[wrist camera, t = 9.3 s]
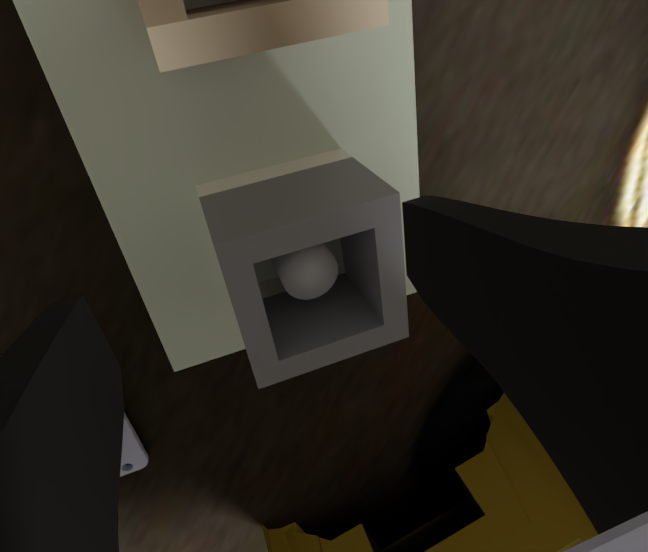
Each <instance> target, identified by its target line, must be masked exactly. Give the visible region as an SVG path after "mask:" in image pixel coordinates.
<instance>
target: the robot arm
mask: <svg viewBox="0 0 648 552" xmlns="http://www.w3.org/2000/svg"><path fill="white" fill-rule="evenodd" d="M402 210H403V226H404V242H405V258H406V273H407V277H408V278H409V280H410V281H411V283H412V284H413V286H414V288H415V289H416V291H417V292H418V294H419V295H420V296H421V298H422V299H423V301H424V302H425V304H426V305H427V306H428V307H429V308H430V310H431V311H432V312H433V313H434V314H435V315H436V316H437V317H438V318H439V320H440V321H441V322H442V323H443V324H444V325H445V326H446V327H447V328H448V329H449V330H450V331H451V333H452V334H453V335H454V336H455V337H456V338H457V339H458V340H459V341H460V342H461V343H462V344H463V345H464V346H465V348H466V349H467V350H468V351H469V352H470V353H471V354H472V355H473V356H474V357H475V358H476V359H477V360H478V361H479V363H480V364H481V365H482V366H483V367H484V368H485V369H486V370H487V372H488V373H489V374H490V375H491V376H492V377H493V379H494V380H495V381H496V382H497V384H498V385H499V386H500V388H501V389H502V390H503V392H504V393H505V394H506V396H507V397H508V398H509V400H510V401H511V402H512V404H513V405H514V406H515V408H516V409H517V411H518V412H519V413H520V415H521V416H522V417H523V419H524V420H525V422H526V423H527V425H528V426H529V427H530V429H531V430H532V432H533V433H534V435H535V436H536V438H537V439H538V440H539V442H540V443H541V445H542V446H543V448H544V449H545V450H546V452H547V454H548V455H549V457H550V458H551V460H552V461H553V463H554V464H555V466H556V467H557V469H558V470H559V472H560V474H561V475H562V477H563V478H564V480H565V481H566V483H567V484H568V486H569V487H570V489H571V490H572V492H573V494H574V495H575V497H576V498H577V500H578V502H579V503H580V505H581V507H582V508H583V510H584V512H585V513H586V515H587V517H588V518H589V520H590V521H591V523H592V525H593V526H594V528H595V530H596V531H597V533H598V535H597V536H595V537H593V538H591V539H589V540H586V541H584V542H582V543H580V544H578V545H576V546H574V547H572V548H570V549H568V550H566V551H563V552H648V228H644V227H620V226H605V225H595V224H585V223H575V222H567V221H560V220H553V219H547V218H541V217H535V216H529V215H524V214H519V213H514V212H509V211H504V210H499V209H494V208H490V207H485V206H481V205H476V204H472V203H467V202H463V201H458V200H453V199H448V198H443V197H436V196H422V197H419V198H415V199H412V200H408V201H405V202H402ZM128 463H129V464H128ZM125 464H128V465H125ZM147 464H148V454H147V452H146V450H145V449H144V447H143V445H142V443H141V441H140V440H139V438H138V436H137V434H136V432H135V430H134V429H133V427H132V425H131V423H130V421H129V419H128V418H127V416H126V414H125V412H124V395H123V384H122V374H121V367H120V365H119V363H118V361H117V359H116V357H115V355H114V353H113V351H112V349H111V347H110V345H109V343H108V342H107V340H106V338H105V336H104V334H103V332H102V330H101V328H100V326H99V324H98V322H97V320H96V318H95V316H94V314H93V312H92V310H91V309H90V307H89V305H88V303H87V301H86V299H85V297H84V295H80V296H76V297H73V298H69V299H66V300H62V301H59V302H55V303H52V304H51V305H50V306H49V307H47V308H46V309H45V310H44V311H43V312H42V313H41V314H40V315H39V316H38V317H37V318H36V319H35V320H34V322H33V323H32V324H31V325H30V326H29V327H28V328H27V329H26V330H25V331H24V332H23V334H22V335H21V336H20V337H19V338H18V339H17V340H16V341H15V342H14V343H13V344H12V345H11V347H10V348H9V349H8V350H7V351H6V352H5V353H4V354H3V355H2V356H1V357H0V552H119V545H118V499H119V485H120V477H121V476H124V475H126V474H129V473H132V472H135V471H137V470H140V469H142V468H144V467H145V466H146V465H147Z"/></svg>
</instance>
